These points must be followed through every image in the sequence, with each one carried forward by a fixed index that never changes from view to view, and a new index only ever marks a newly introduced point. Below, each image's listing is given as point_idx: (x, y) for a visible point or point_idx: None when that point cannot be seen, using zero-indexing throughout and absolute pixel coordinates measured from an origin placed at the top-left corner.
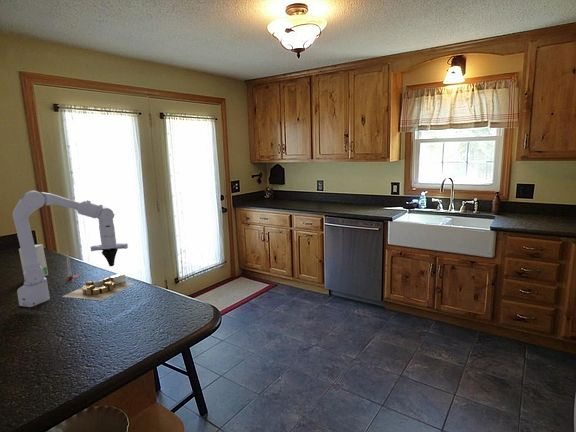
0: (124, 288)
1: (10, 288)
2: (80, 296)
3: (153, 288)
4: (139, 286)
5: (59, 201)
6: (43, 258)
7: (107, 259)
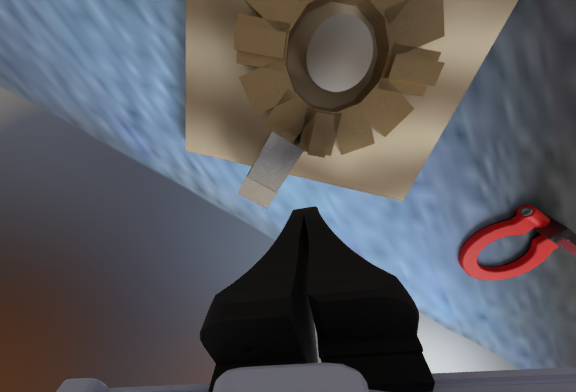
0: (187, 72)
1: None
2: None
3: (71, 107)
4: (165, 139)
5: None
6: None
7: (325, 236)
